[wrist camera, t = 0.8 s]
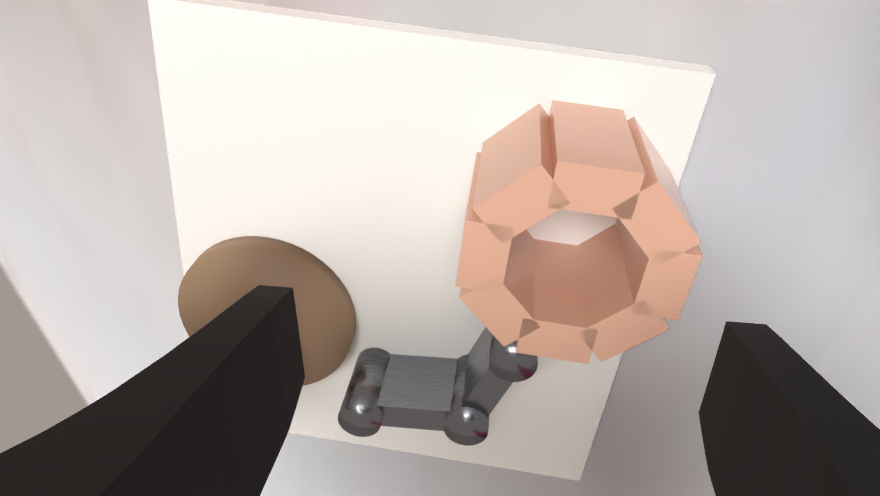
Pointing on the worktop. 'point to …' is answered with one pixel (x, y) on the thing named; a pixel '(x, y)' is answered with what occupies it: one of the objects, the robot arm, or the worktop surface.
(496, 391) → the grey mechanical part
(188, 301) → the peg
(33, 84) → the worktop surface
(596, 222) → the board
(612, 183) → the ring
